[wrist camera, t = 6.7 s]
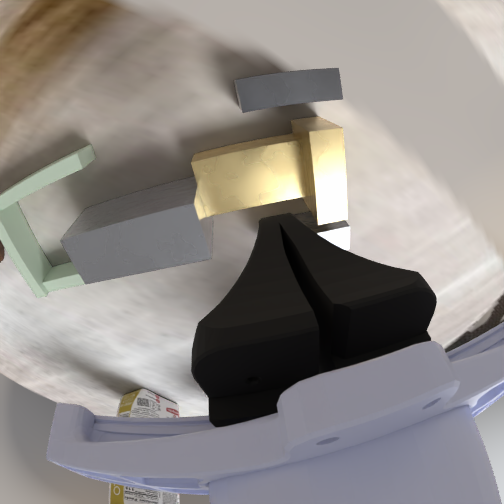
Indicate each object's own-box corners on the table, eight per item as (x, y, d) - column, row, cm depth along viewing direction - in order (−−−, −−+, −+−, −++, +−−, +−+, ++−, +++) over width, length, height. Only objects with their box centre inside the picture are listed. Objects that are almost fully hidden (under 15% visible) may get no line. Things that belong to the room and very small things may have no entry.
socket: (335, 227, 23) (349, 248, 20) (266, 241, 23) (272, 265, 21) (321, 68, 15) (338, 68, 13) (233, 80, 16) (235, 80, 13)
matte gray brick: (213, 220, 22) (211, 258, 18) (105, 246, 22) (85, 284, 18) (200, 174, 20) (194, 203, 15) (86, 207, 20) (60, 240, 16)
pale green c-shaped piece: (138, 256, 23) (129, 279, 20) (48, 278, 23) (37, 298, 21) (91, 144, 17) (72, 155, 14) (2, 192, 17) (-16, 207, 15)
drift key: (325, 191, 21) (347, 219, 17) (211, 214, 21) (209, 247, 18) (318, 116, 18) (342, 127, 14) (190, 140, 18) (181, 158, 14)
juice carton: (114, 393, 37) (102, 525, 18) (142, 383, 35) (132, 536, 16) (157, 413, 42) (154, 532, 23) (186, 404, 40) (189, 539, 21)
